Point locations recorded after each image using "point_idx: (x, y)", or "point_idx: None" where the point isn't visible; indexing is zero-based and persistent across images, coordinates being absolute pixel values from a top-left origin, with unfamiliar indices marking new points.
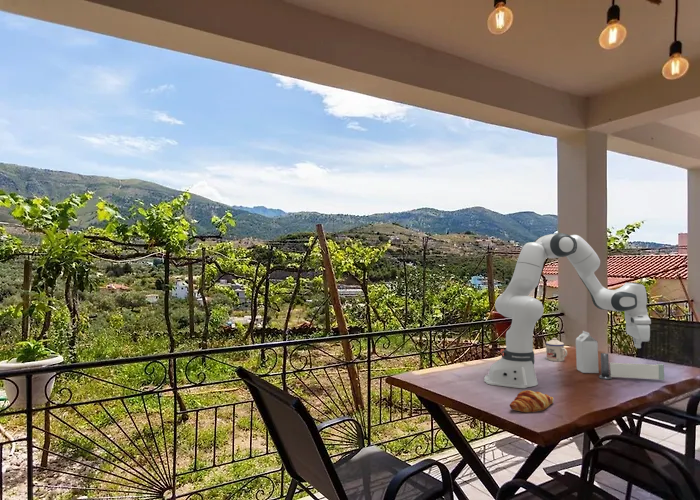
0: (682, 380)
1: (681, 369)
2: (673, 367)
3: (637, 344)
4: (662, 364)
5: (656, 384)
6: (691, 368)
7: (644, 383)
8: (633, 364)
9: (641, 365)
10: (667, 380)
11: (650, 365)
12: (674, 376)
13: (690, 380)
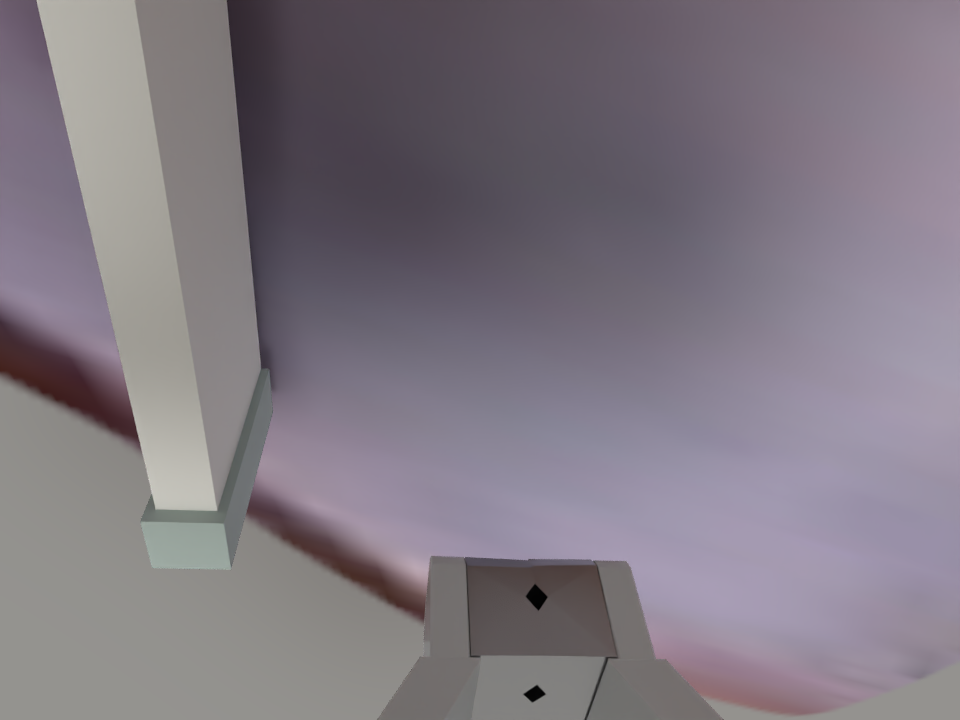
0: (361, 550)
1: (778, 653)
2: (857, 630)
3: (426, 669)
4: (193, 565)
5: (53, 268)
6: (799, 707)
7: (33, 130)
8: (69, 134)
9: (105, 278)
10: (322, 441)
11: (136, 413)
12: (515, 543)
13: (379, 598)
